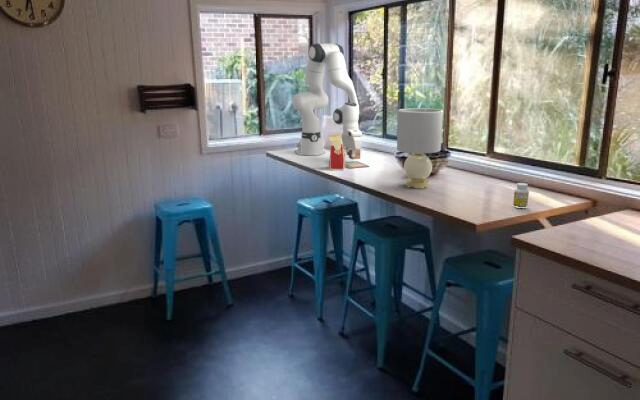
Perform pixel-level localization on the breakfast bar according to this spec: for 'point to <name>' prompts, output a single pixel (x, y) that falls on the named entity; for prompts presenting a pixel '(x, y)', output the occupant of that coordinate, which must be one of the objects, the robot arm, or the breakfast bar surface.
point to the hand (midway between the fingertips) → (350, 155)
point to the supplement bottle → (521, 195)
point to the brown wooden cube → (357, 154)
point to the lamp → (419, 142)
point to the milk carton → (336, 153)
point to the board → (355, 165)
